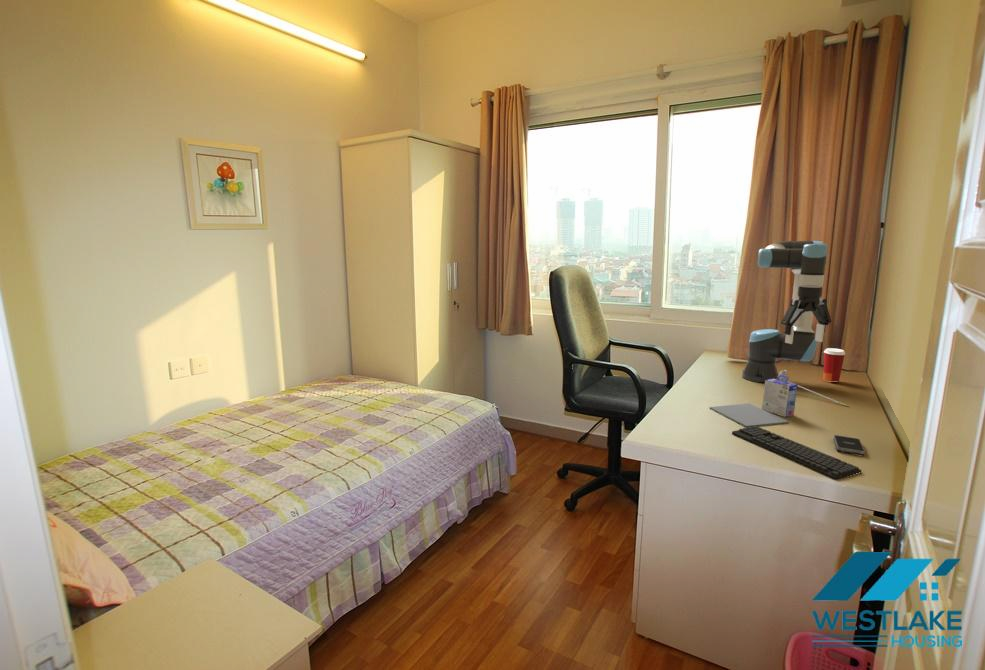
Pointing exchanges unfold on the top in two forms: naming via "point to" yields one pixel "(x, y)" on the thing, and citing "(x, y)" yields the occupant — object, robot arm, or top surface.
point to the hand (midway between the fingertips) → (803, 342)
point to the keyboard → (797, 452)
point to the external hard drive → (848, 445)
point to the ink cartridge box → (779, 396)
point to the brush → (803, 387)
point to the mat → (748, 415)
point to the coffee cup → (833, 364)
